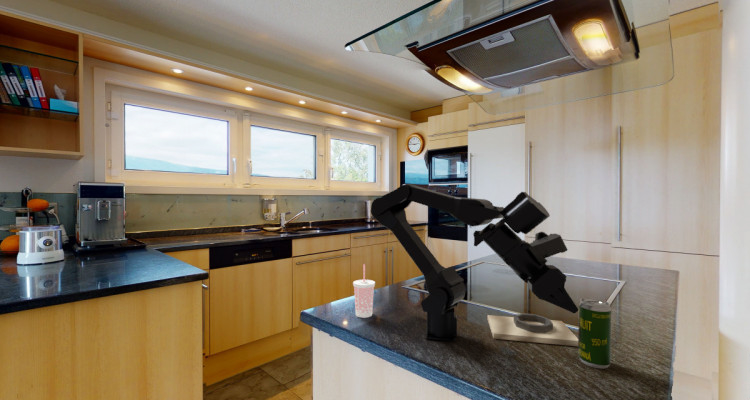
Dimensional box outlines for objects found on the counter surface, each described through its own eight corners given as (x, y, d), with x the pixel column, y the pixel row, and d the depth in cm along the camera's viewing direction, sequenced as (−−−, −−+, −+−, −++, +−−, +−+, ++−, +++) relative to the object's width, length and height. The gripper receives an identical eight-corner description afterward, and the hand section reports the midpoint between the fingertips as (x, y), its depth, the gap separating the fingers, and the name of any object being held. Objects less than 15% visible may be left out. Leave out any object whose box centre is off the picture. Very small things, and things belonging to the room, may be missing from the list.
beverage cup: (379, 313, 91) (379, 263, 91) (365, 320, 86) (366, 267, 86) (362, 309, 95) (362, 261, 95) (348, 315, 90) (348, 264, 90)
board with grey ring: (493, 338, 75) (493, 326, 75) (487, 319, 87) (487, 309, 87) (580, 346, 72) (580, 334, 72) (561, 325, 83) (561, 315, 83)
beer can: (596, 355, 68) (596, 297, 68) (618, 368, 62) (618, 306, 62) (571, 356, 67) (572, 298, 67) (591, 370, 62) (592, 306, 62)
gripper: (553, 223, 58) (624, 290, 55) (528, 217, 76) (581, 267, 73) (505, 266, 59) (572, 332, 57) (492, 250, 78) (543, 299, 75)
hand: (567, 303), depth 66 cm, fingers open, 9 cm apart
